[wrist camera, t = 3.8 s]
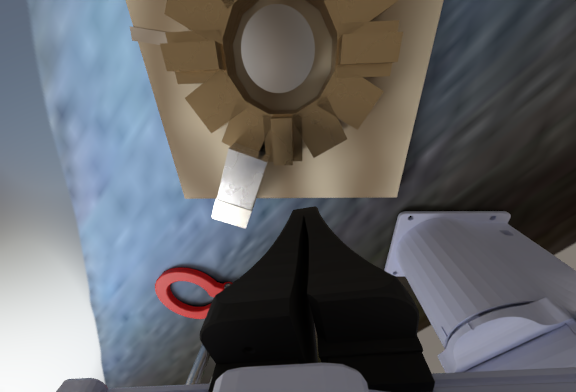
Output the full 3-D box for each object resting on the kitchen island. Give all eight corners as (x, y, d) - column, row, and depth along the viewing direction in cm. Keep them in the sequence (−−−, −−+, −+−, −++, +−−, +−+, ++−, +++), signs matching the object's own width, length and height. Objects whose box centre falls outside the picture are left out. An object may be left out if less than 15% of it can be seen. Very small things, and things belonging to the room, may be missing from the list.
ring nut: (403, -99, 10) (449, -177, 7) (359, 203, 18) (371, 228, 15) (158, -78, 11) (101, -141, 8) (219, 204, 19) (203, 228, 16)
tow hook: (160, 301, 29) (228, 318, 29) (61, 444, 17) (174, 470, 18) (160, 256, 25) (238, 277, 25) (31, 403, 13) (178, 437, 14)
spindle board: (482, -224, 9) (626, -463, 5) (391, 190, 19) (416, 221, 15) (80, -179, 10) (-62, -347, 6) (187, 192, 20) (159, 221, 16)
